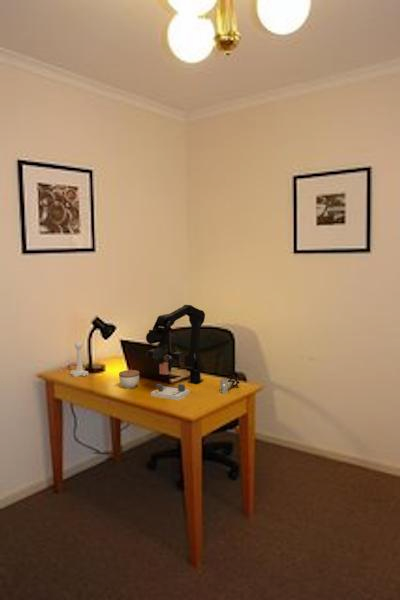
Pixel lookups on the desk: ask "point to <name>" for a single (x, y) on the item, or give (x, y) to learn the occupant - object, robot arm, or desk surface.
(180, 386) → the lever
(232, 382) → the valve
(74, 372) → the joystick
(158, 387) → the lever tagged
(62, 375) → the desk surface
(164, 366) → the block
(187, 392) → the panel
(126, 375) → the lidded jar
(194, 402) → the desk surface
